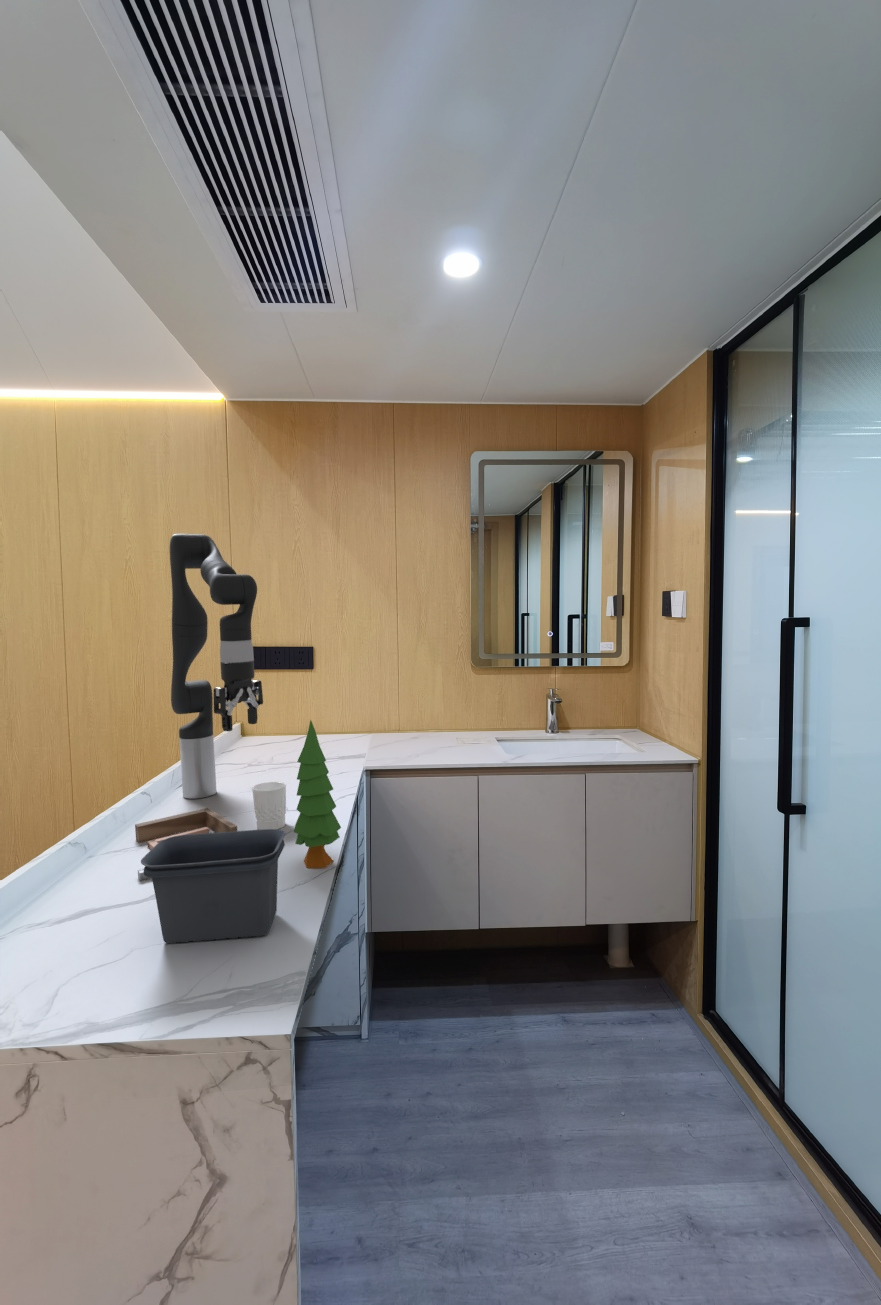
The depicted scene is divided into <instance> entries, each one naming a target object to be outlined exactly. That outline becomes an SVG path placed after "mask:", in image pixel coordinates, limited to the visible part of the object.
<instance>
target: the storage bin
mask: <svg viewBox="0 0 881 1305" xmlns="http://www.w3.org/2000/svg"><path fill="white" fill-rule="evenodd" d="M285 835H286V831H285V830H282V829H264V830H259V829H249V830H237V831H233V832H218V833H215V832H209V833H205V834H189V835H179V836H174V837H170V838H167V839H164V840H162V841H160V842H159V843H158V844H157V845H156V846H155V847H154V848H153V849H152V850H151V849H150V850H149V851H148V852H147V853H146V854H145V855H144V856H143V857H142V858H141V860H140V863H141V865H142V866H144V868H143V869H144V875H145V876H147V877H152V879H151V881H152V884H153V889H154V891H153V892H154V895H155V900H156V906H157V913H158V918H159V923H160V929H161V934H162V939H163V942H164V943H167V944H177V943H176V942H181V943H189V942H188V941H193V942H201V941H202V940H204V941H214V939H216V940H226V939H225V938H229V939H238V937H241V938H249V937H248V936H253V937H260V936H261V937H262V936H265V935H267V934H268V933H269V931H270V930H271V926H272V923H273V921H274V918H275V916H276V914H277V908H278V907H277V904H278V874H279V872H278V871H279V866H278V865H279V863H278V862H279V858H280V856H281V854H282V852H283V850H284V848H285V847H286V846H285V845H286V844H285V840H284V838H285ZM186 941H187V942H186Z"/></svg>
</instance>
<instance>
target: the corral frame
mask: <svg viewBox="0 0 881 1305" xmlns="http://www.w3.org/2000/svg"><path fill="white" fill-rule="evenodd" d="M205 833H210V829H209V828H208V827H206V826H205V827H201V828H197V829H193V830H189V831H185V832H181V833H177V834H173V835H169V836H164V837H160V838H156V839H152V840H148V841H146V843H147V848H149V850H150V851H151V850H152V849H153V848H154V847H155V846H156V845H157V844H158V843H159V842H160V841H162V840H164V839H167V838H170V837H174V836H179V835H189V834H205Z"/></svg>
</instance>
